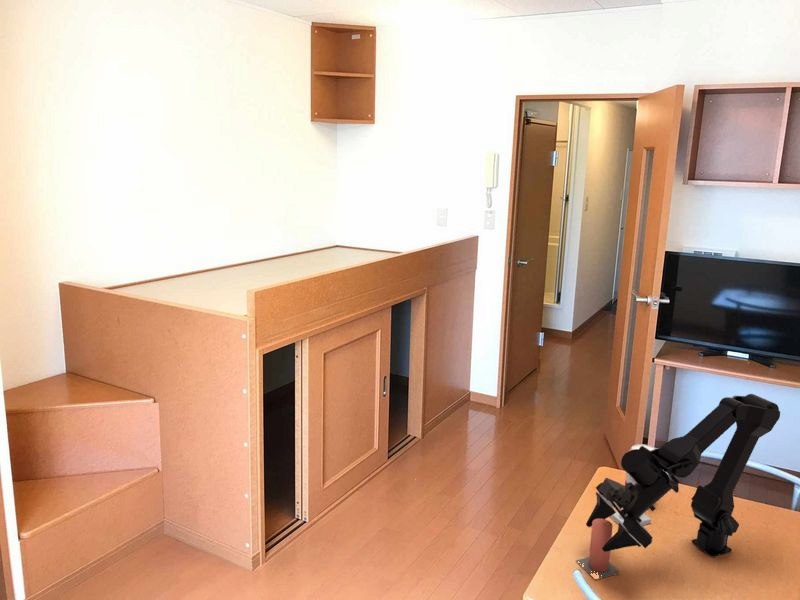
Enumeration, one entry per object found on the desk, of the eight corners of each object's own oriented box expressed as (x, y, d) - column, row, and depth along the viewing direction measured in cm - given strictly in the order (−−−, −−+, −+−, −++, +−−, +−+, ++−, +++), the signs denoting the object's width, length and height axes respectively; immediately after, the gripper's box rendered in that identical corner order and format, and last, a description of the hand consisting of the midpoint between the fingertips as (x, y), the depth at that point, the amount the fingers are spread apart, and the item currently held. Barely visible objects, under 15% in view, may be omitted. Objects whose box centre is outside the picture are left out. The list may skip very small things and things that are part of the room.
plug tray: (634, 511, 171) (636, 498, 170) (650, 523, 166) (652, 510, 165) (609, 516, 168) (611, 504, 167) (625, 529, 163) (626, 516, 162)
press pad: (600, 555, 153) (600, 554, 153) (620, 573, 146) (620, 572, 146) (575, 561, 150) (576, 560, 150) (594, 580, 144) (594, 579, 144)
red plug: (600, 558, 151) (604, 516, 148) (612, 570, 147) (616, 527, 144) (584, 562, 149) (588, 520, 147) (596, 574, 145) (600, 531, 143)
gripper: (607, 450, 152) (558, 494, 153) (644, 492, 134) (588, 541, 135) (636, 479, 154) (587, 522, 156) (675, 524, 136) (620, 572, 138)
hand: (595, 537), depth 146 cm, fingers open, 9 cm apart
